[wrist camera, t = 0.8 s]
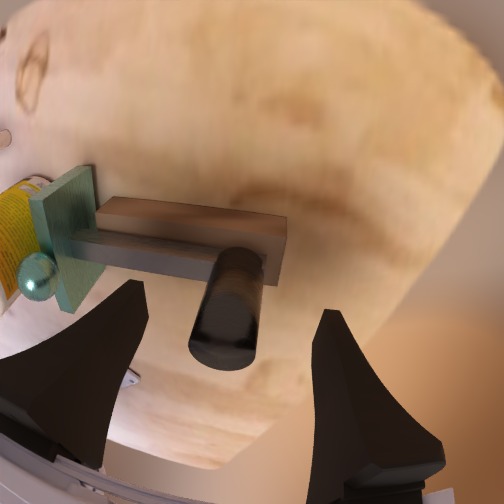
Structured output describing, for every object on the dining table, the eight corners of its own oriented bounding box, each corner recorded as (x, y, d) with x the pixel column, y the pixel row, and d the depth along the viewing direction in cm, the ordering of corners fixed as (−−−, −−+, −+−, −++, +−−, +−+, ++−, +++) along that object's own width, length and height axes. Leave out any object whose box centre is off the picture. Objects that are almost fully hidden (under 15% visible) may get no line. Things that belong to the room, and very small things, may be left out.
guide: (286, 217, 16) (286, 237, 15) (278, 263, 18) (277, 286, 16) (112, 196, 17) (94, 212, 15) (117, 240, 18) (102, 259, 16)
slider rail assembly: (276, 183, 15) (269, 279, 9) (259, 293, 19) (246, 402, 12) (68, 165, 15) (-23, 230, 9) (85, 264, 19) (27, 343, 13)
